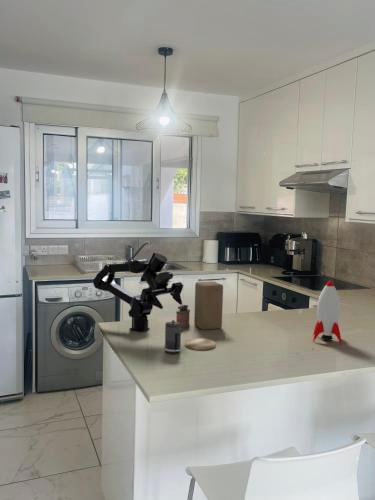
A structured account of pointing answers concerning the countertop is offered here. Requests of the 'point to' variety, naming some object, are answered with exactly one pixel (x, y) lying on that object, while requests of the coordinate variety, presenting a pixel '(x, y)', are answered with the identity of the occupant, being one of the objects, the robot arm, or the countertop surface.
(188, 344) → the smooth tan round disc
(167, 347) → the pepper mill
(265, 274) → the countertop surface
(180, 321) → the lighter
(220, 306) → the wooden block
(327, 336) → the rocket
